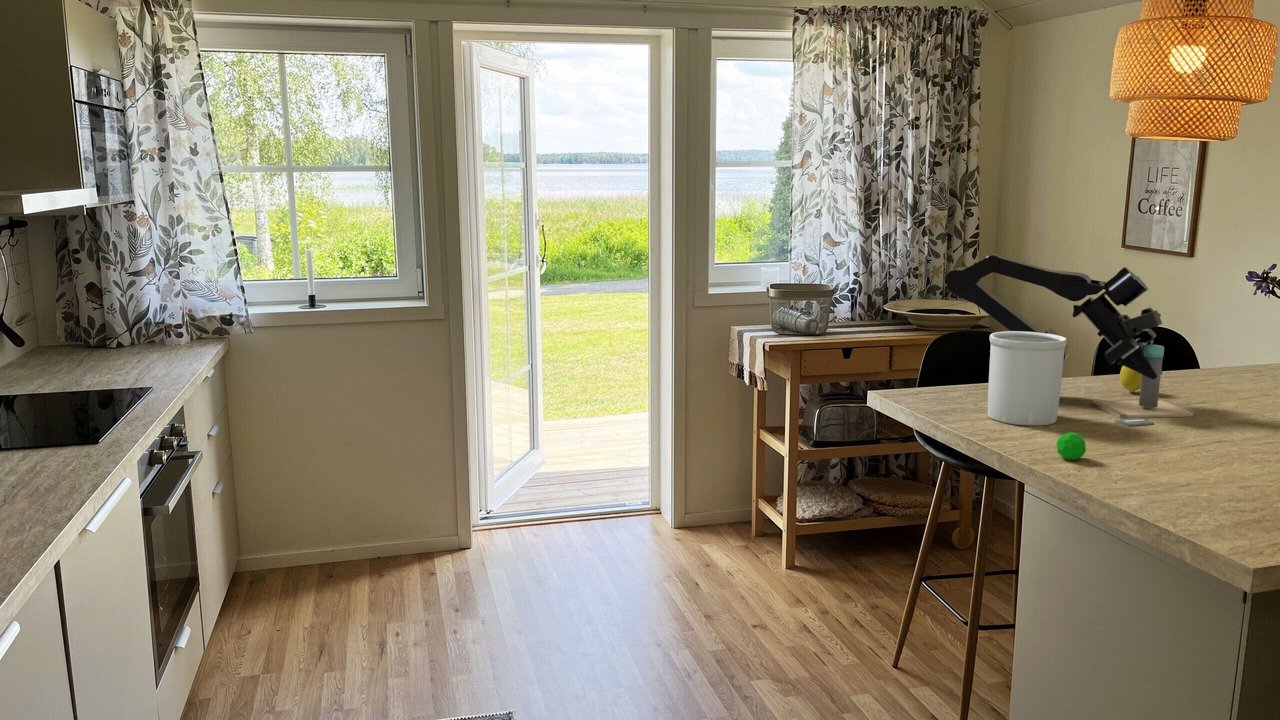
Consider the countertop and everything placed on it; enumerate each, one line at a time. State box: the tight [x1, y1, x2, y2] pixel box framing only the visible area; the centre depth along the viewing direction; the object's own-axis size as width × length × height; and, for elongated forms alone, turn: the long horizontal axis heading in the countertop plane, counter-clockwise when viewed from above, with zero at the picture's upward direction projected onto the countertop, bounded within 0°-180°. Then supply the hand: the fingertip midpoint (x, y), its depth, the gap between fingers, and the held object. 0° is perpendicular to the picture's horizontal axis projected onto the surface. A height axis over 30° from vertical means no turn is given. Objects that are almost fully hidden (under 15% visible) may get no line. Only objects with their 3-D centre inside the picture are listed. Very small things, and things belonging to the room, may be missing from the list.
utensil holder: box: [987, 330, 1068, 427], centre depth 204 cm, size 15×15×18 cm
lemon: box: [1119, 365, 1142, 394], centre depth 226 cm, size 6×6×8 cm
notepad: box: [1090, 399, 1194, 419], centre depth 211 cm, size 16×12×1 cm
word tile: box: [1114, 417, 1155, 427], centre depth 201 cm, size 6×4×1 cm, turn 103°
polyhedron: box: [1055, 431, 1087, 461], centre depth 176 cm, size 5×5×5 cm
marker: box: [1138, 344, 1165, 408], centre depth 208 cm, size 4×4×13 cm
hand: (1158, 376), depth 208 cm, fingers closed on marker, 4 cm apart
